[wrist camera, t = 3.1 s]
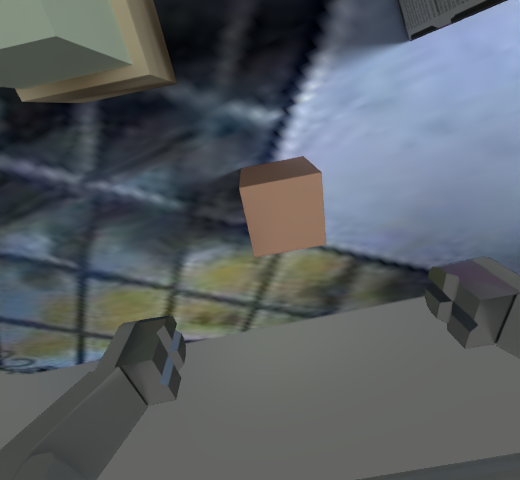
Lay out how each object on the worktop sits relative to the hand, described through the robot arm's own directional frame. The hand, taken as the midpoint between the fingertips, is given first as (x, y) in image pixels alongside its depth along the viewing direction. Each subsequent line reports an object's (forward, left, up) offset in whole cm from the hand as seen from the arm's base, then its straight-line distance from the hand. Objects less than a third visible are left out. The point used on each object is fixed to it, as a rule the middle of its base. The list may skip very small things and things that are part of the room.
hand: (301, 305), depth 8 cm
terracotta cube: (-1, 0, -12) cm, 12 cm away
